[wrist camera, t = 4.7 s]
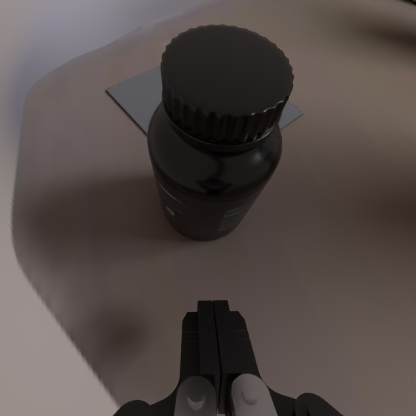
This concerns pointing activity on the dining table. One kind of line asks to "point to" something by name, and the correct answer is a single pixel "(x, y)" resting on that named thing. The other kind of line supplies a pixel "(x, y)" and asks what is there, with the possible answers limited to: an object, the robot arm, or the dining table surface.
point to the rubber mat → (152, 96)
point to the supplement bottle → (217, 126)
